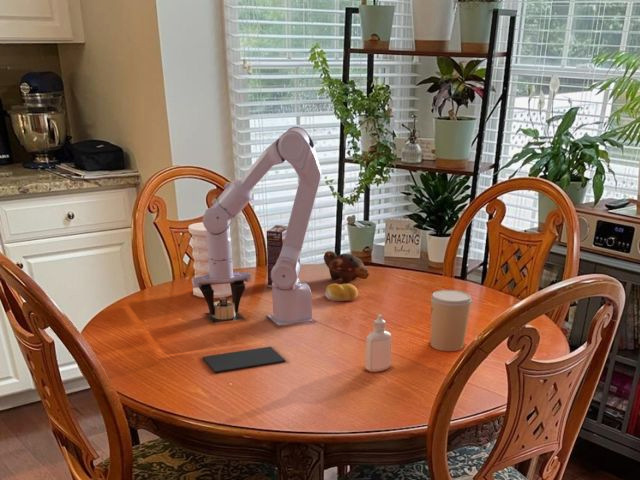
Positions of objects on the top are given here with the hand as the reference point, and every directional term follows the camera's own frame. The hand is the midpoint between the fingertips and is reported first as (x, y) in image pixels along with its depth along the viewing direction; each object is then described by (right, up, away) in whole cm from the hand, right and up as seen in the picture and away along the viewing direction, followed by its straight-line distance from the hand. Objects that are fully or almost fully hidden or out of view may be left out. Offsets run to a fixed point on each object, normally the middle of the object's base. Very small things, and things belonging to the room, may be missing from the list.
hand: (224, 312), depth 180 cm
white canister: (+55, -11, -11) cm, 57 cm away
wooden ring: (0, -1, 0) cm, 1 cm away
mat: (+9, -16, -23) cm, 29 cm away
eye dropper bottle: (+38, -18, -25) cm, 49 cm away
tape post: (0, -1, +1) cm, 1 cm away
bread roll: (+29, +8, +18) cm, 35 cm away
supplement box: (+11, +14, +27) cm, 33 cm away
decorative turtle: (+30, +17, +33) cm, 48 cm away
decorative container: (-6, +9, +18) cm, 21 cm away
